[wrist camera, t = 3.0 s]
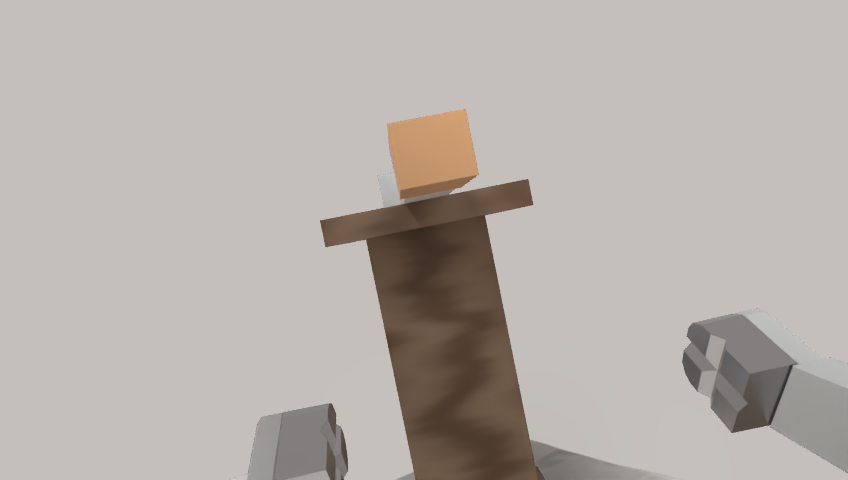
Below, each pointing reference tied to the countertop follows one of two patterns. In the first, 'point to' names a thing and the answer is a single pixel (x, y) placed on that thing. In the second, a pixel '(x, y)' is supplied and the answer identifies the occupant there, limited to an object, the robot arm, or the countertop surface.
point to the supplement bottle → (241, 477)
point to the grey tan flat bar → (428, 158)
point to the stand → (448, 331)
